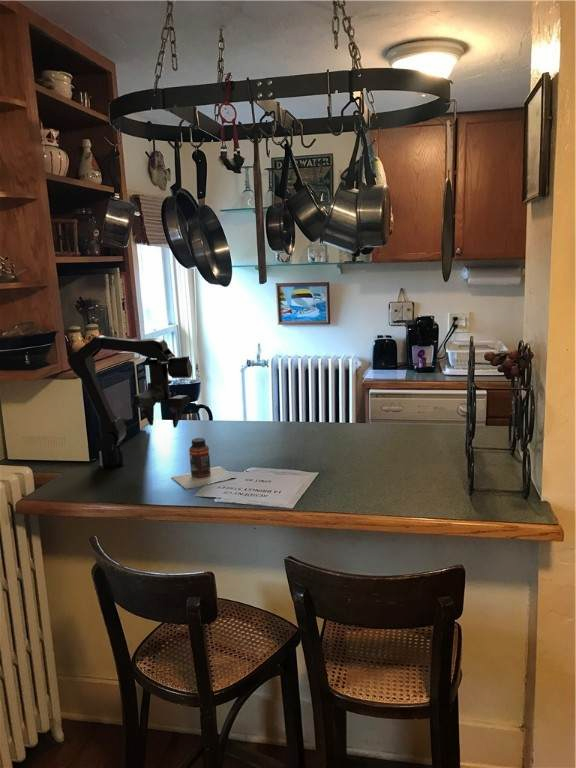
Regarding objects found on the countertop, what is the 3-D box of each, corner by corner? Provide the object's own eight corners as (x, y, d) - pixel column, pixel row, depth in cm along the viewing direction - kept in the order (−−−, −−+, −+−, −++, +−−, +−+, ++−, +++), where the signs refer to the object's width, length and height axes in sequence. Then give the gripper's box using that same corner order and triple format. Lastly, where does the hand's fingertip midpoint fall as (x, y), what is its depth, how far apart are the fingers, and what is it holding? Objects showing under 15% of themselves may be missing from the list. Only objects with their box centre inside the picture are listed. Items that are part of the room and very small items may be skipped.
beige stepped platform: (185, 489, 178) (185, 488, 178) (171, 478, 188) (171, 476, 188) (236, 478, 186) (235, 476, 186) (219, 467, 196) (219, 466, 196)
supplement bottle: (214, 473, 190) (212, 437, 187) (204, 479, 184) (201, 443, 182) (197, 471, 192) (195, 436, 190) (187, 477, 187) (184, 441, 185)
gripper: (118, 382, 192) (123, 430, 195) (168, 384, 184) (172, 435, 187) (141, 375, 202) (145, 422, 205) (189, 377, 194) (193, 426, 197)
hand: (163, 426), depth 198 cm, fingers open, 9 cm apart
